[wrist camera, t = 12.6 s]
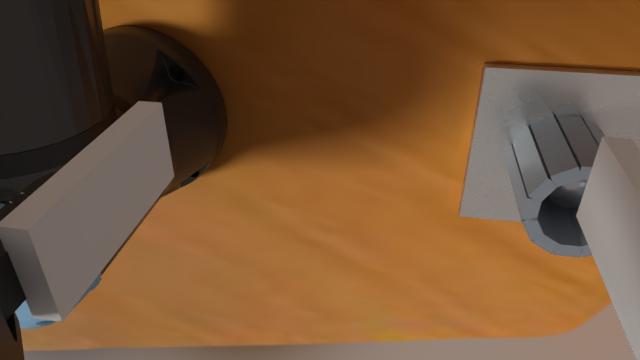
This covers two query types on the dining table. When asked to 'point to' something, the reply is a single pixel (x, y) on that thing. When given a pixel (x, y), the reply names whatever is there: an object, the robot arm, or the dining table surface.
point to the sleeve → (552, 179)
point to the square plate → (531, 106)
